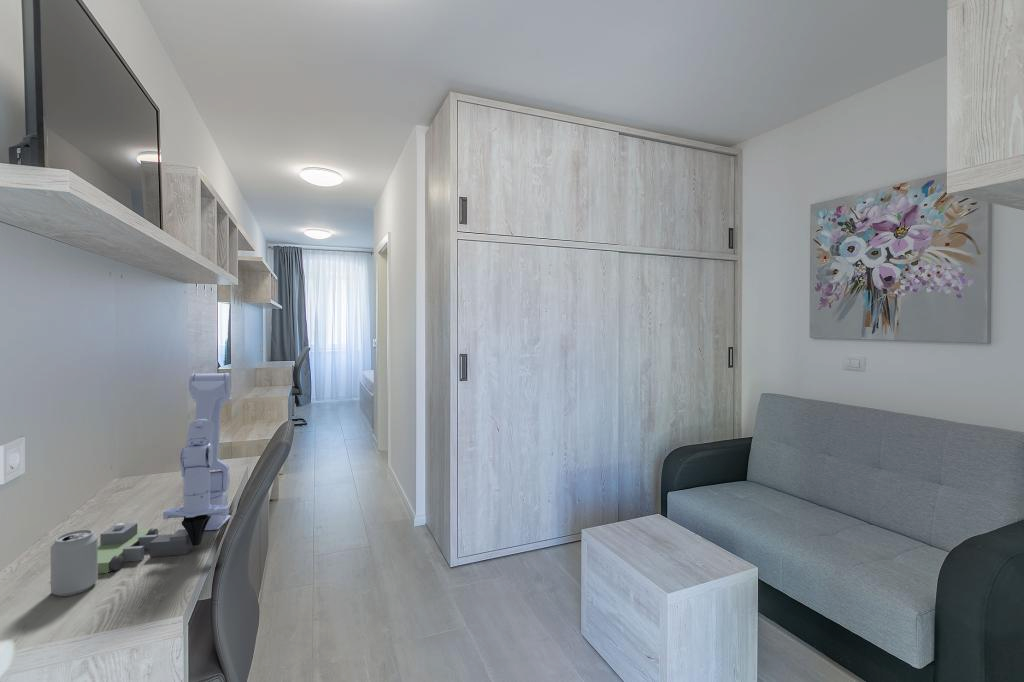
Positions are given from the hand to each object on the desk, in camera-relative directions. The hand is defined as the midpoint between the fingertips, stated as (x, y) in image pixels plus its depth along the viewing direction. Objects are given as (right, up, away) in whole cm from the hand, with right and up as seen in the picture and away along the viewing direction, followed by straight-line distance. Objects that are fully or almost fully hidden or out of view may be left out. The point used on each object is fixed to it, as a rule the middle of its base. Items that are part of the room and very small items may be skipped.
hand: (196, 544), depth 120 cm
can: (-14, -2, -18) cm, 23 cm away
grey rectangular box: (-5, -1, -1) cm, 6 cm away
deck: (-17, -1, -3) cm, 18 cm away
